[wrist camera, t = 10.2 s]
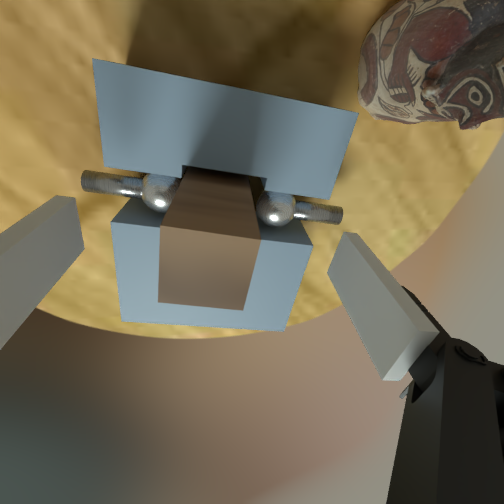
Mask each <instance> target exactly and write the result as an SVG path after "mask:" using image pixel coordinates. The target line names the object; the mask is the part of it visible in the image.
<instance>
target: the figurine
mask: <svg viewBox="0 0 504 504" xmlns="http://www.w3.org/2000/svg"><path fill="white" fill-rule="evenodd" d="M358 81H359V90H358V100H359V104H360V105H361V106H362V107H364V108H365V109H366V110H367V111H368V112H369V113H370V115H371V116H372V117H373V118H374V119H375V120H380V119H381V120H389V121H395V122H401V123H404V124H416V123H420V122H424V121H435V122H439V121H458V122H459V126H460V129H462V130H464V129H477V128H478V127H479V126H480V124H481V123H482V122H485V121H488V120H490V119H495V118H504V0H400V1H399V2H398V3H396V4H395V5H393V6H392V7H391V8H390V9H389V10H388V11H387V12H386V13H385V14H384V15H383V16H382V17H380V18H379V19H378V21H377V22H376V23H375V24H374V26H373V27H372V28H371V30H370V31H369V33H368V34H367V36H366V38H365V40H364V42H363V44H362V47H361V55H360V61H359V65H358Z"/></svg>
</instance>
